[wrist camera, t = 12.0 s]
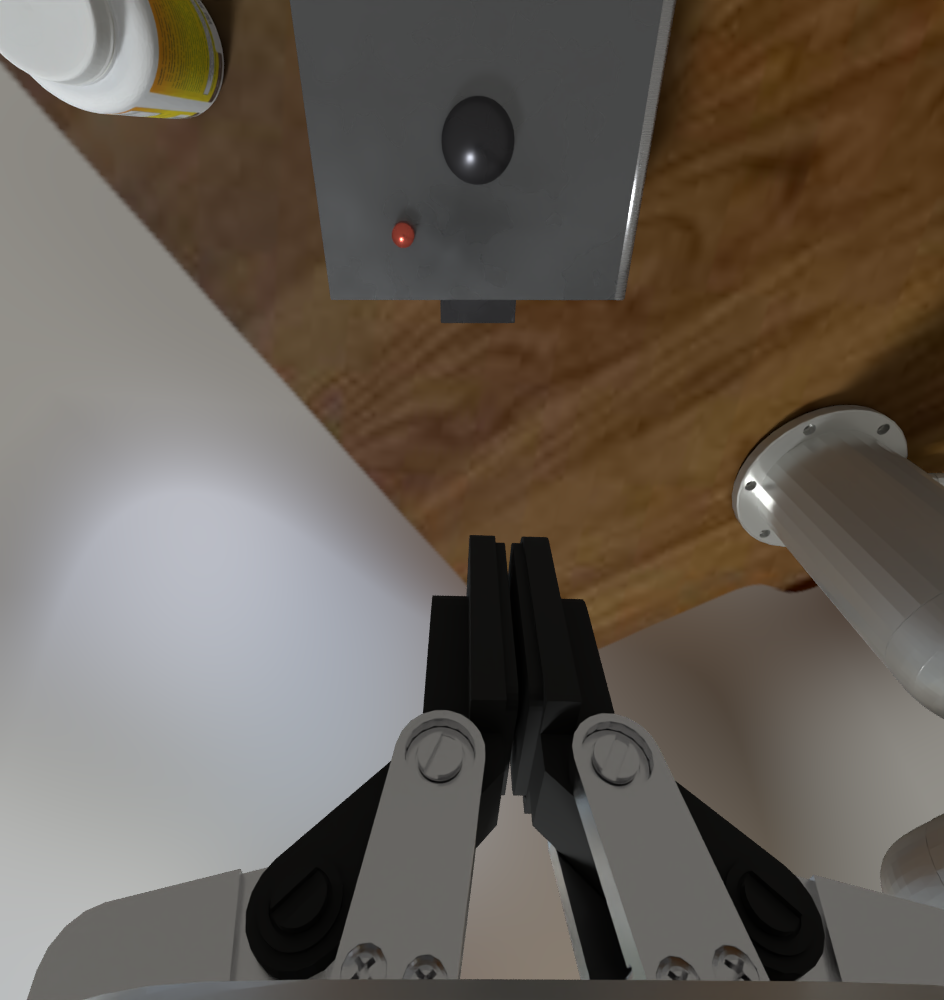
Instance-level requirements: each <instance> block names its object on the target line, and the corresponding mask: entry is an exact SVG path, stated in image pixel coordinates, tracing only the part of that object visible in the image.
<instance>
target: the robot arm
mask: <svg viewBox="0 0 944 1000" xmlns="http://www.w3.org/2000/svg"><path fill="white" fill-rule="evenodd" d="M907 455H908V453H907V442H906V439H905V436H904V434H903V431H902V430H901V429H900V428H899V426H898V425H897V424H896V423H895V422H894V421H893V420H891V419H890V418H888V417H887V416H885V415H884V414H882V413H880V412H878V411H876V410H874V409H872V408H868V407H863V406H858V405H837V406H832V407H826V408H821V409H818V410H815V411H812V412H809V413H806V414H804V415H802V416H800V417H798V418H796V419H794V420H792V421H789V422H788V423H786V424H785V425H783V426H782V427H780V428H779V429H777V430H776V431H774V432H773V433H771V434H770V435H769V436H768V437H767V438H766V439H764V440H763V441H762V442H761V443H760V444H759V445H758V446H757V447H756V448H755V449H754V451H753V452H752V453H751V454H750V455H749V456H748V458H747V459H746V461H745V462H744V464H743V466H742V467H741V469H740V470H739V473H738V475H737V478H736V480H735V483H734V487H733V492H732V507H733V510H734V513H735V516H736V518H737V519H738V521H739V522H740V524H741V525H742V527H743V528H744V529H745V530H746V531H747V532H748V533H749V534H750V535H751V536H752V537H754V538H755V539H757V540H759V541H761V542H764V543H767V544H770V545H776V546H783V547H787V548H788V550H789V551H790V552H791V553H792V554H793V556H794V557H795V558H796V559H797V560H798V562H799V563H800V564H801V565H802V566H803V568H804V569H805V570H806V571H807V572H808V574H809V575H810V576H811V577H812V578H813V580H814V581H815V582H816V583H817V584H818V586H819V587H820V588H821V589H822V590H823V592H824V593H825V594H826V595H827V596H828V597H829V599H830V600H831V601H832V602H833V603H834V605H835V606H836V607H837V608H838V609H839V611H840V612H841V613H842V614H843V616H844V617H845V618H846V619H847V620H848V622H849V623H850V624H851V625H852V626H853V627H854V629H855V630H856V631H857V632H858V633H859V635H860V636H861V637H862V638H863V639H864V641H865V642H866V643H867V644H868V646H869V647H870V648H871V649H872V650H873V651H874V653H875V654H876V655H877V656H878V657H879V659H880V660H881V661H882V662H883V663H884V665H885V666H886V667H887V668H888V670H889V671H890V672H891V673H892V675H893V676H894V677H895V678H896V679H897V680H898V682H899V683H900V684H901V685H902V686H903V688H904V689H905V690H906V691H907V692H908V693H909V694H910V695H911V696H912V697H913V698H914V699H916V700H917V701H918V702H919V703H920V704H921V705H923V706H924V707H925V708H927V709H928V710H930V711H931V712H933V713H934V714H936V715H938V716H939V717H941V718H943V719H944V473H929V474H928V473H927V472H925V471H924V470H922V469H921V468H919V467H918V466H916V465H915V464H914V463H912V462H911V461H909V460H908V459H907ZM509 764H510V766H511V779H512V791H513V795H523V803H524V813H525V814H527V813H528V814H532V824H533V826H534V827H535V828H536V829H537V830H538V831H539V832H540V833H541V834H542V835H543V836H544V837H545V838H546V839H547V840H548V849H549V854H550V858H551V862H552V866H553V870H554V874H555V878H556V882H557V886H558V890H559V895H560V898H561V902H562V906H563V911H564V914H565V919H566V923H567V927H568V930H569V935H570V939H571V942H572V947H573V951H574V955H575V959H576V963H577V967H578V971H579V975H580V978H581V980H502V979H500V980H498V979H497V980H494V979H491V980H490V979H481V980H479V979H473V980H472V979H460V975H461V966H462V958H463V950H464V941H465V933H466V926H467V917H468V909H469V901H470V893H471V885H472V877H473V869H474V860H475V852H476V848H477V847H478V846H479V844H480V843H481V842H482V841H483V840H484V839H485V838H486V836H487V835H488V834H489V833H490V832H491V831H492V830H493V829H494V827H495V826H496V825H497V820H498V813H499V806H500V799H501V795H505V790H506V783H507V777H508V770H509ZM880 880H881V888H882V893H880V892H876V891H873V890H868V889H865V888H861V887H857V886H854V885H850V884H846V883H843V882H839V881H835V880H831V879H827V878H824V877H820V876H816V875H813V876H812V877H811V878H810V879H805V878H802V877H798V876H795V875H794V874H793V873H792V872H791V871H790V870H788V868H787V867H786V866H784V865H783V864H782V863H781V862H779V861H778V860H777V859H775V858H774V857H773V856H772V855H770V854H769V853H768V852H766V851H765V850H764V849H762V848H761V847H760V846H759V845H757V844H756V843H755V842H754V841H752V840H751V839H750V838H748V837H747V836H746V835H744V834H743V833H742V832H741V831H739V830H738V829H737V828H735V827H734V826H733V825H732V824H730V823H729V822H728V821H727V820H725V819H724V818H723V817H721V816H720V815H719V814H717V813H716V812H715V811H714V810H712V809H711V808H710V807H708V806H707V805H706V804H705V803H703V802H702V801H701V800H699V799H698V798H697V797H696V796H694V795H693V794H691V793H690V792H689V791H688V790H686V789H685V788H684V787H683V786H681V785H680V784H679V783H677V782H676V781H675V780H674V778H673V776H672V774H671V772H670V770H669V768H668V765H667V763H666V761H665V759H664V757H663V755H662V753H661V751H660V749H659V747H658V745H657V744H656V742H655V741H654V739H653V737H652V736H651V735H650V734H649V733H648V732H647V731H646V730H645V729H644V728H643V727H642V726H641V725H639V724H637V723H636V722H634V721H632V720H631V719H629V718H627V717H623V716H620V715H617V714H614V710H613V706H612V702H611V698H610V694H609V691H608V687H607V683H606V679H605V675H604V672H603V668H602V664H601V660H600V656H599V652H598V649H597V645H596V641H595V637H594V633H593V629H592V626H591V622H590V618H589V614H588V610H587V607H586V604H585V602H584V601H583V599H561V597H560V592H559V587H558V583H557V578H556V573H555V568H554V563H553V559H552V554H551V549H550V544H549V540H548V538H547V537H522V538H521V542H520V543H512V545H511V553H510V562H509V571H508V572H507V561H506V551H505V543H496V542H495V536H482V535H470V538H469V557H468V577H467V596H433V597H432V606H431V619H430V632H429V644H428V657H427V670H426V682H425V694H424V708H423V714H421V715H420V716H418V717H416V718H415V719H413V720H411V721H410V722H409V723H408V725H407V726H406V727H405V728H404V729H403V730H402V732H401V734H400V736H399V738H398V740H397V743H396V745H395V749H394V753H393V756H392V760H391V761H390V762H389V763H388V764H387V765H386V766H385V767H384V768H382V769H381V770H380V771H379V772H377V773H376V774H375V775H374V776H373V777H372V778H370V779H369V780H368V781H367V782H366V783H365V784H363V785H362V786H361V787H360V788H359V789H358V790H356V791H355V792H354V793H353V794H352V795H351V796H349V797H348V798H347V799H346V800H345V801H343V802H342V803H341V804H340V805H339V806H338V807H336V808H335V809H334V810H333V811H332V812H330V813H329V814H328V815H327V816H326V817H325V818H324V819H322V820H321V821H320V822H319V823H318V824H316V825H315V826H314V827H313V828H312V829H311V830H309V831H308V832H307V833H306V834H305V835H304V836H302V837H301V838H300V839H299V840H298V841H296V842H295V843H294V844H293V845H292V846H291V847H289V848H288V849H287V850H286V851H285V852H284V853H282V854H281V855H280V856H279V857H278V858H276V859H275V860H274V862H273V863H272V864H271V865H270V866H269V867H268V868H264V869H260V870H256V871H252V872H248V873H244V874H243V873H242V871H241V869H238V870H234V871H230V872H226V873H222V874H218V875H214V876H210V877H206V878H202V879H198V880H194V881H190V882H186V883H182V884H178V885H173V886H169V887H165V888H161V889H157V890H154V891H149V892H145V893H141V894H137V895H133V896H129V897H125V898H122V899H117V900H113V901H109V902H105V903H103V904H101V905H98V906H96V907H94V908H92V909H89V910H87V911H85V912H83V913H82V914H81V915H80V916H78V917H77V918H76V919H74V920H73V921H72V922H71V923H69V924H68V925H67V926H66V927H65V928H64V929H63V930H62V931H61V933H60V934H59V935H58V936H57V937H56V939H55V940H54V941H53V942H52V943H51V945H50V946H49V947H48V949H47V951H46V953H45V955H44V957H43V959H42V961H41V963H40V965H39V967H38V969H37V971H36V974H35V977H34V980H33V983H32V986H31V989H30V992H29V995H28V998H27V1000H944V814H942V815H940V816H938V817H936V818H933V819H932V820H931V821H929V822H927V823H925V824H923V825H921V826H919V827H917V828H915V829H913V830H912V831H910V832H909V833H907V834H905V835H903V836H902V837H901V838H899V839H898V840H897V841H896V842H895V843H893V845H892V846H891V847H890V848H889V849H888V851H887V852H886V854H885V856H884V858H883V861H882V865H881V870H880Z"/></svg>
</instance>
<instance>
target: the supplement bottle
mask: <svg viewBox="0 0 944 1000" xmlns="http://www.w3.org/2000/svg"><path fill="white" fill-rule="evenodd" d="M0 53H1V54H2V55H3V56H4V57H5V58H6V59H8V60H9V61H10V62H11V63H13V64H14V65H15V66H17V67H18V68H20V69H21V70H23V71H25V72H27V73H28V74H30V75H31V76H32V77H33V78H34V79H35V80H36V81H37V82H38V83H39V84H40V85H41V86H42V87H44V88H45V89H46V90H47V91H49V92H50V93H52V94H53V95H55V96H56V97H58V98H59V99H61V100H63V101H64V102H66V103H68V104H70V105H72V106H75V107H77V108H80V109H82V110H86V111H90V112H95V113H100V114H112V115H127V116H140V117H155V118H173V119H184V118H191V117H194V116H197V115H199V114H201V113H203V112H204V111H206V110H207V109H208V108H209V107H210V106H211V105H212V104H213V102H214V101H215V99H216V98H217V96H218V94H219V91H220V88H221V85H222V81H223V74H224V58H223V50H222V46H221V42H220V38H219V35H218V32H217V29H216V27H215V25H214V23H213V20H212V18H211V17H210V15H209V13H208V11H207V10H206V8H205V6H204V5H203V4H202V2H201V1H200V0H0Z"/></svg>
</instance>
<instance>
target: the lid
mask: <svg viewBox="0 0 944 1000" xmlns="http://www.w3.org/2000/svg"><path fill="white" fill-rule="evenodd" d="M290 4H291V12H292V19H293V26H294V34H295V41H296V48H297V55H298V63H299V70H300V77H301V85H302V92H303V99H304V107H305V114H306V121H307V128H308V136H309V143H310V150H311V158H312V165H313V172H314V180H315V187H316V194H317V201H318V209H319V216H320V223H321V231H322V238H323V245H324V253H325V260H326V267H327V274H328V282H329V289H330V296H331V300H623V299H625V293H626V287H627V281H628V276H629V270H630V264H631V258H632V253H633V247H634V241H635V235H636V230H637V224H638V218H639V212H640V207H641V201H642V195H643V189H644V184H645V178H646V172H647V166H648V161H649V155H650V149H651V143H652V138H653V132H654V126H655V120H656V115H657V109H658V103H659V97H660V92H661V86H662V80H663V74H664V69H665V63H666V57H667V51H668V46H669V40H670V34H671V28H672V23H673V17H674V11H675V5H676V0H290Z"/></svg>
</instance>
